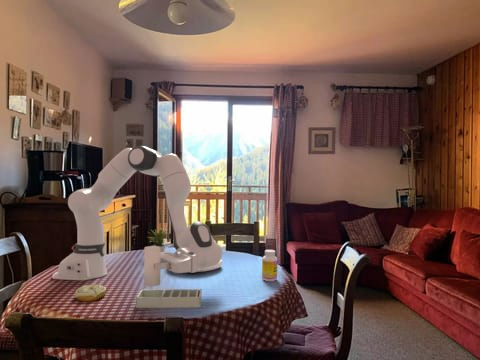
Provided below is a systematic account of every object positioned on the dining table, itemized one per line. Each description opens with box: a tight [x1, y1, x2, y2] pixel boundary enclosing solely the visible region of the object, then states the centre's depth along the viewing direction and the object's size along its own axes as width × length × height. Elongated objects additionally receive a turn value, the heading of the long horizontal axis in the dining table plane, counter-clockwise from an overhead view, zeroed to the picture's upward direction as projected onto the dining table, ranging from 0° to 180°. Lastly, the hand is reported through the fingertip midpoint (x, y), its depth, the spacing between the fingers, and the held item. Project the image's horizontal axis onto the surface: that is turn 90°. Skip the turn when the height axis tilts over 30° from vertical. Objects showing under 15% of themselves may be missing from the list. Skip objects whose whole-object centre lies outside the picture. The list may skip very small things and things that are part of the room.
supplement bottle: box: [261, 249, 278, 282], centre depth 163 cm, size 7×7×13 cm
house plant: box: [147, 227, 171, 252], centre depth 205 cm, size 14×14×16 cm
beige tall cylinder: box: [143, 245, 161, 287], centre depth 131 cm, size 6×6×13 cm
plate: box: [195, 259, 223, 273], centre depth 181 cm, size 28×6×27 cm
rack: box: [135, 288, 203, 309], centre depth 131 cm, size 22×9×4 cm, turn 94°
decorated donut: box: [74, 284, 107, 302], centre depth 136 cm, size 10×11×4 cm
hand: (150, 264), depth 130 cm, fingers closed on beige tall cylinder, 6 cm apart
